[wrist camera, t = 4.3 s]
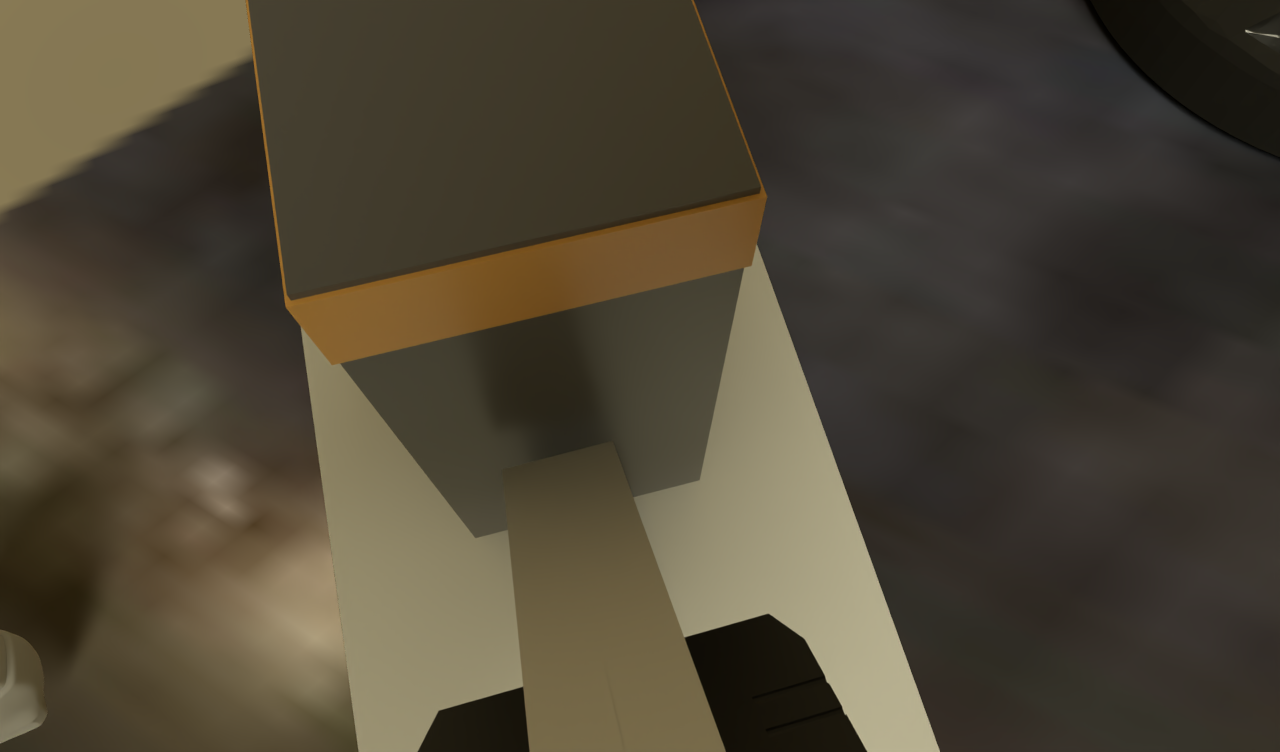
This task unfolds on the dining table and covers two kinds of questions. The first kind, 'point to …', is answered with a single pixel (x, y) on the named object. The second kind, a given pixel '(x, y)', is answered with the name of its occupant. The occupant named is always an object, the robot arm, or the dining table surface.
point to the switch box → (674, 523)
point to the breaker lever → (511, 224)
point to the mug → (20, 687)
